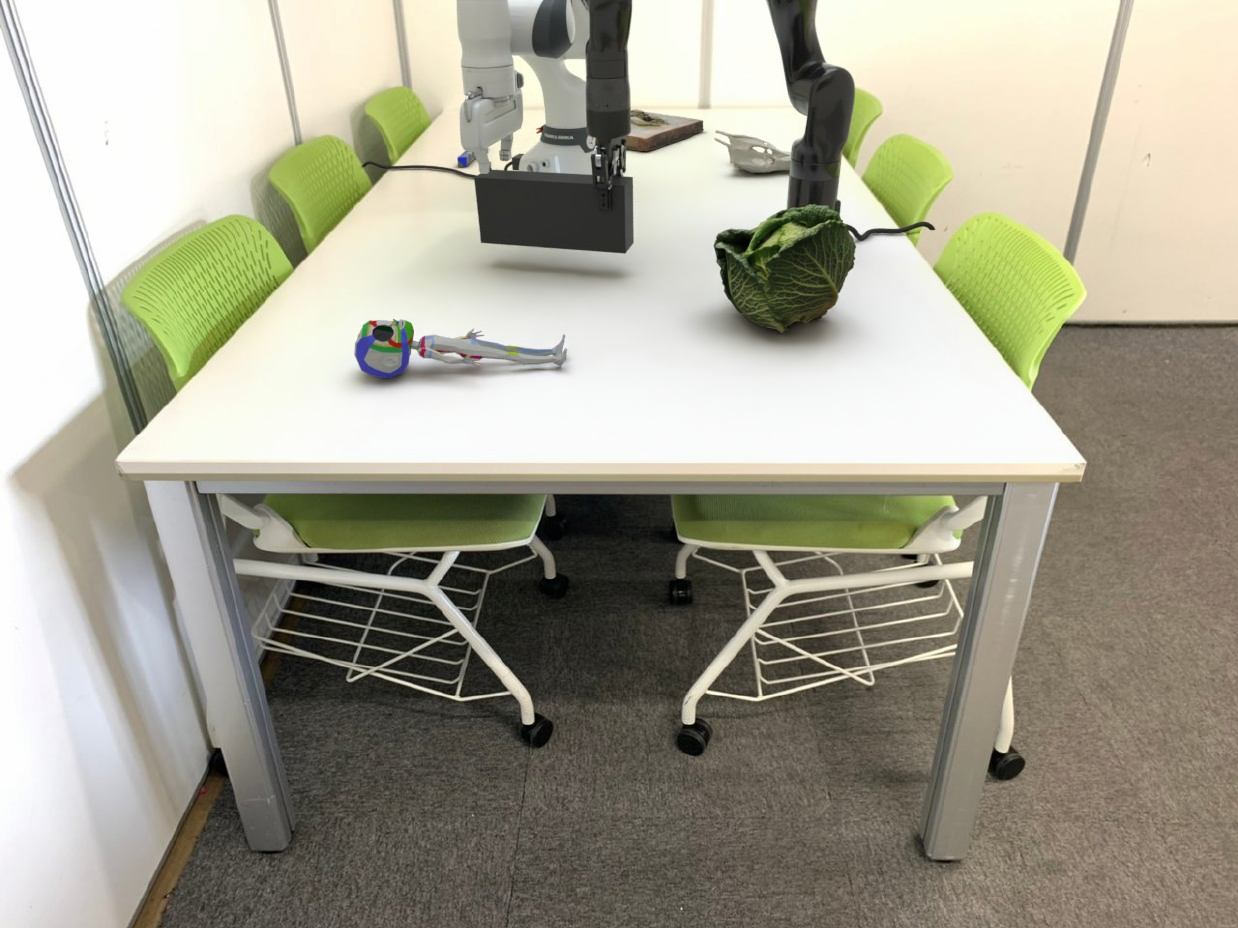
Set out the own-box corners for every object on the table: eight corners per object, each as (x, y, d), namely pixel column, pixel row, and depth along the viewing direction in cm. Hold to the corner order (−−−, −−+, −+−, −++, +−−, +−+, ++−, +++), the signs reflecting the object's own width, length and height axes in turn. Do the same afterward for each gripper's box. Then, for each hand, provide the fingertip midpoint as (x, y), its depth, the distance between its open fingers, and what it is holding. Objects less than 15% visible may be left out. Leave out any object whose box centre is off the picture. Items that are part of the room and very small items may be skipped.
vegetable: (744, 347, 153) (688, 245, 145) (835, 284, 154) (785, 179, 146) (797, 369, 135) (736, 254, 127) (900, 297, 136) (846, 179, 128)
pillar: (484, 140, 247) (465, 158, 230) (485, 148, 248) (466, 167, 231) (476, 140, 247) (457, 158, 230) (477, 148, 248) (457, 166, 231)
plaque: (647, 125, 237) (559, 112, 252) (647, 153, 241) (560, 139, 256) (706, 107, 258) (622, 97, 273) (705, 133, 262) (622, 121, 277)
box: (480, 243, 165) (473, 177, 159) (492, 233, 170) (486, 169, 163) (625, 253, 159) (624, 185, 152) (633, 243, 163) (632, 176, 157)
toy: (569, 347, 126) (349, 329, 122) (563, 400, 131) (350, 385, 126) (565, 318, 135) (359, 301, 130) (559, 369, 139) (360, 354, 134)
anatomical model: (716, 127, 227) (816, 125, 224) (715, 164, 232) (813, 163, 229) (712, 140, 215) (818, 139, 211) (712, 179, 220) (815, 179, 216)
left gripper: (482, 94, 143) (490, 182, 150) (527, 74, 160) (532, 154, 167) (446, 93, 144) (455, 180, 152) (494, 73, 161) (500, 152, 168)
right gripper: (618, 114, 142) (620, 219, 151) (640, 97, 154) (641, 196, 163) (573, 113, 144) (578, 217, 153) (598, 96, 156) (601, 193, 165)
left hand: (496, 166), depth 159 cm, fingers open, 8 cm apart
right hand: (610, 205), depth 158 cm, fingers closed on box, 5 cm apart
